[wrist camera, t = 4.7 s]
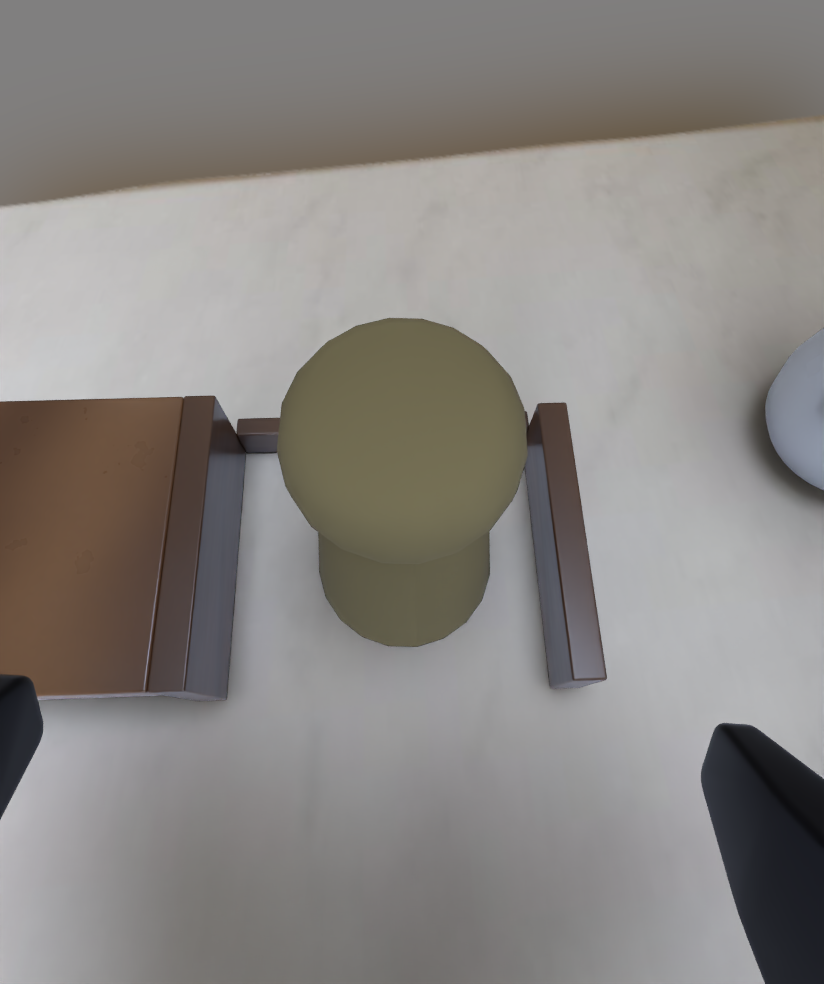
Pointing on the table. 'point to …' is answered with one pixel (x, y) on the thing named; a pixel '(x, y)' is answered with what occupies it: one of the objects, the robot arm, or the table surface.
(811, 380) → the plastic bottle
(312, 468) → the olive green pawn
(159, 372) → the table surface
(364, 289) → the table surface
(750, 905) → the robot arm
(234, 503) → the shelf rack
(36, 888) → the table surface
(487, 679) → the table surface
